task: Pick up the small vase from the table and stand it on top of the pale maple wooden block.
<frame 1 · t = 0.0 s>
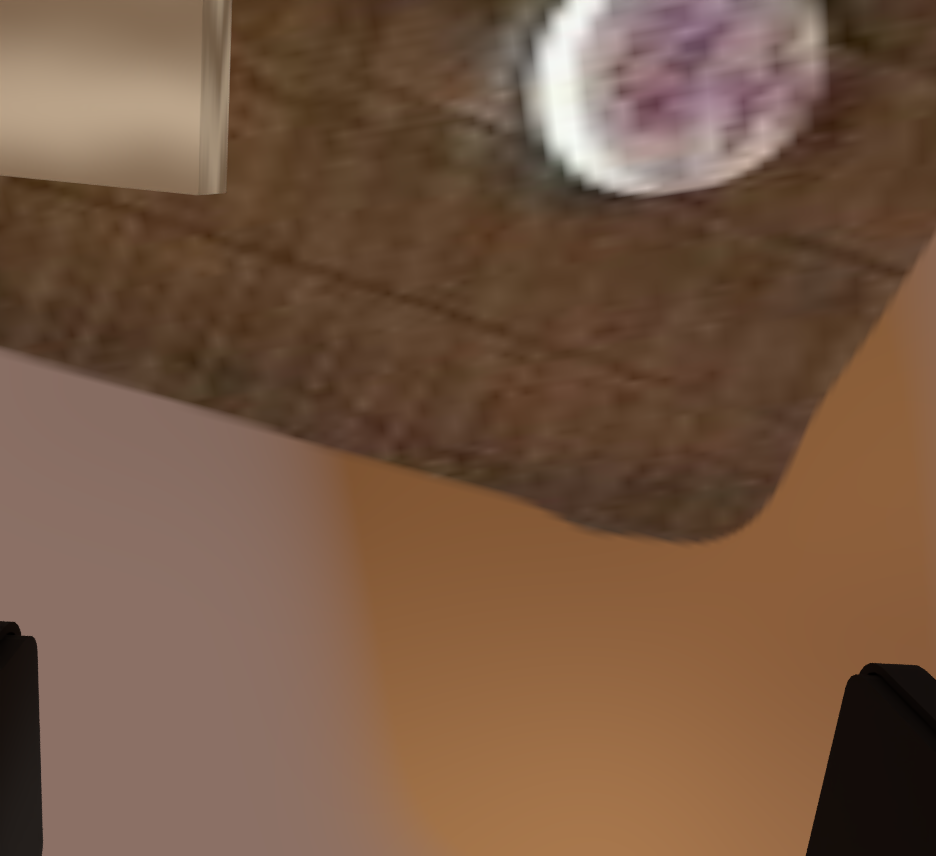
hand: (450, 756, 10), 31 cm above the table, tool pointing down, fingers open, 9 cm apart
maple block: (80, 24, 36), on the table
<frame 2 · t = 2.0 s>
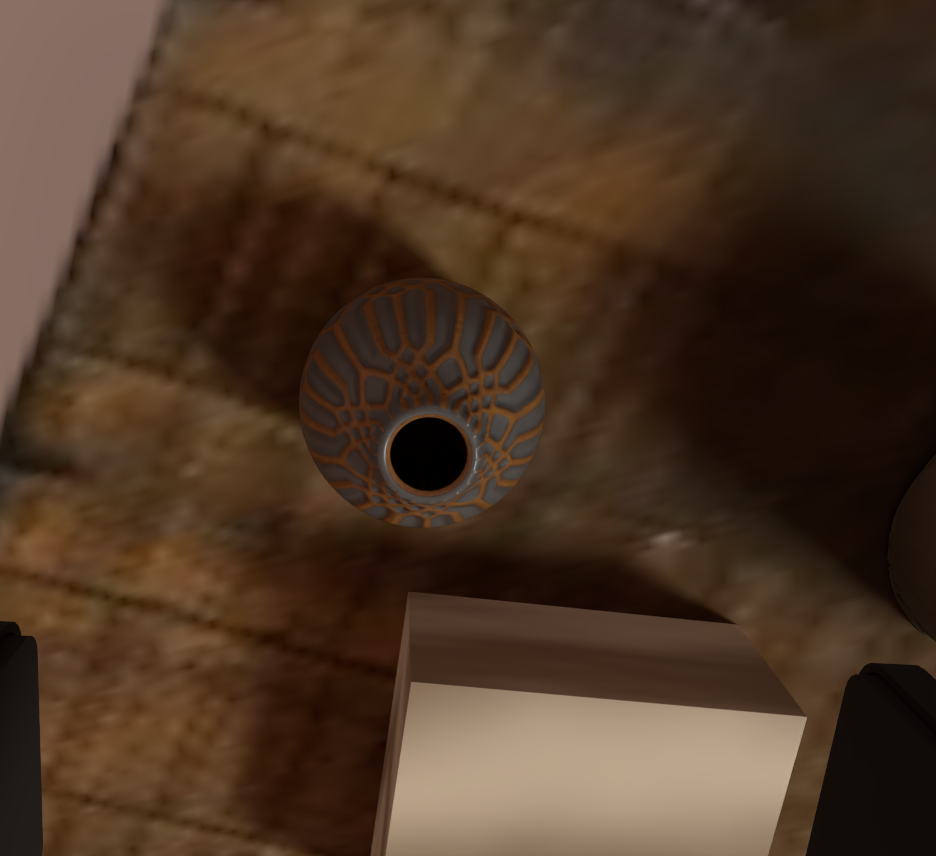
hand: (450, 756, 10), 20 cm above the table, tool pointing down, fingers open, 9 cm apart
vase: (419, 372, 29), on the table
maple block: (546, 749, 34), on the table
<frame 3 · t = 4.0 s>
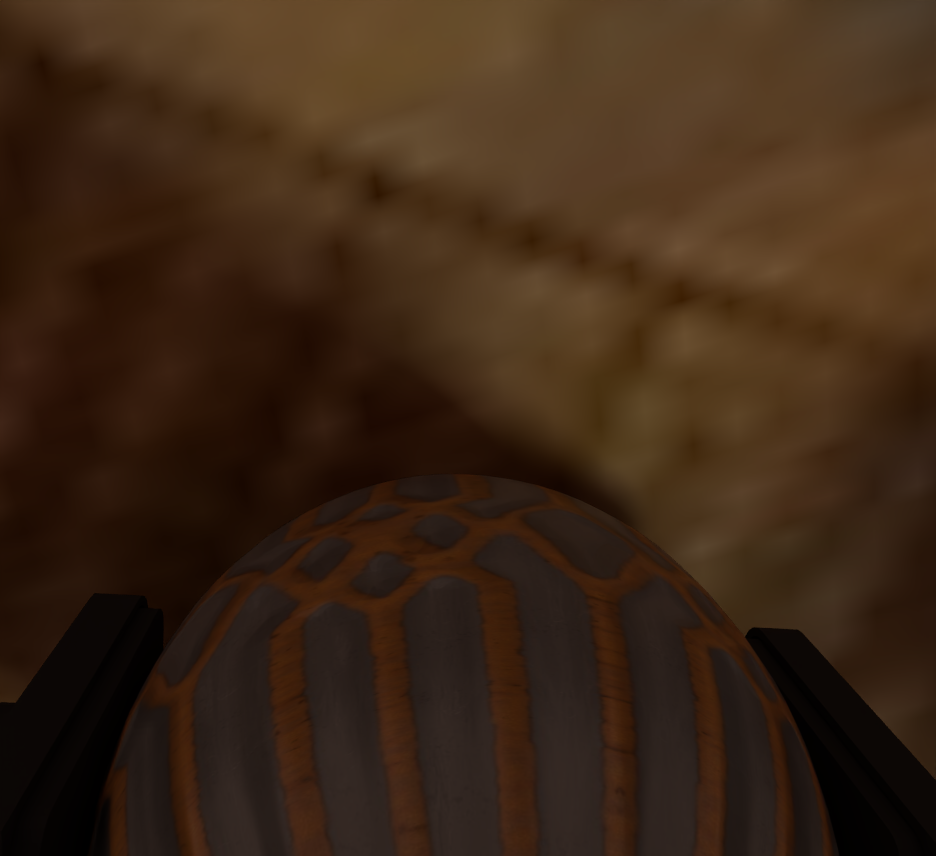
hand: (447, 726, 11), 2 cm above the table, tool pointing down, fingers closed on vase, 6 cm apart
vase: (439, 642, 13), on the table, touching gripper
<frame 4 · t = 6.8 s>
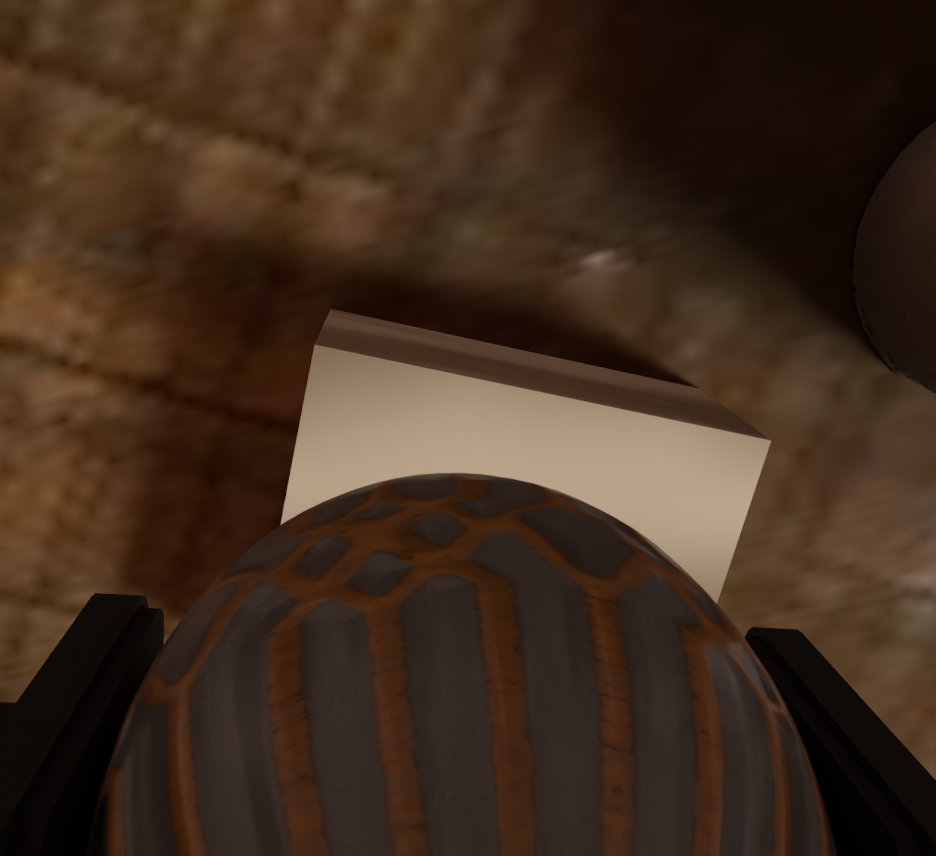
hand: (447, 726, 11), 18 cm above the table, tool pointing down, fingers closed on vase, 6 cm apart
vase: (438, 641, 13), point 16 cm above the table, touching gripper
maple block: (476, 521, 30), on the table
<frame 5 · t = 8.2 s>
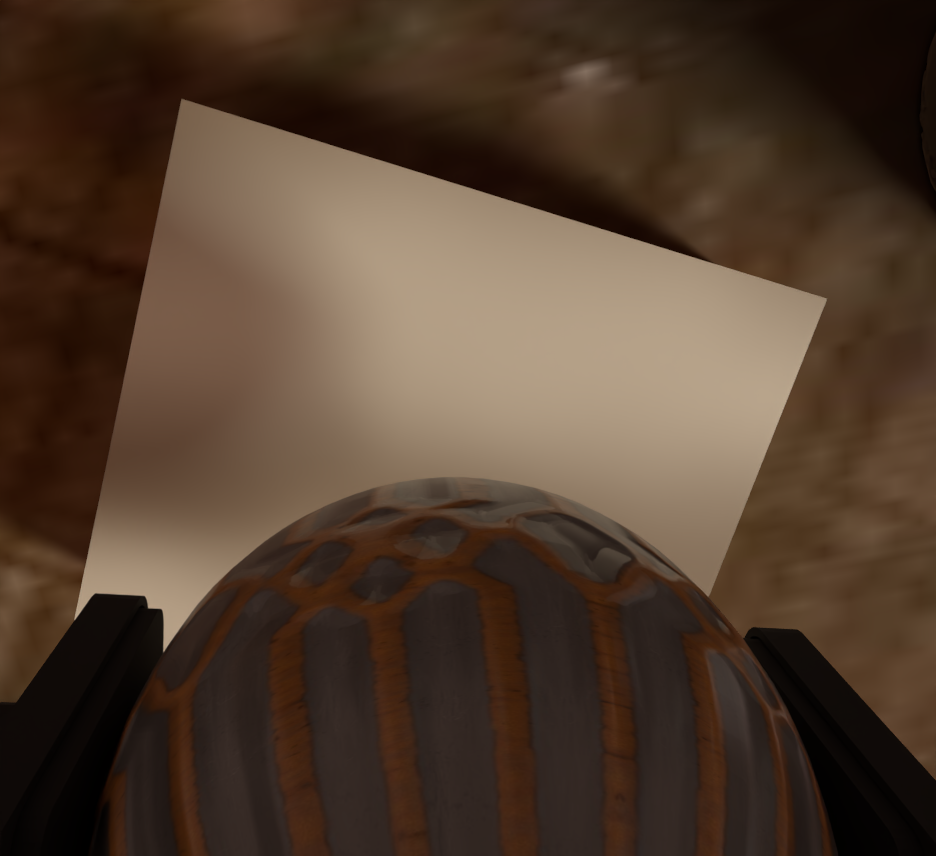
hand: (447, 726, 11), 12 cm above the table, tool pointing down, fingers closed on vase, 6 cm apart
vase: (439, 645, 13), point 10 cm above the table, touching gripper
maple block: (419, 427, 23), on the table
when the fingers open (9 cm above the table, at t = 9.4 s): vase drops 1 cm, resting on maple block.
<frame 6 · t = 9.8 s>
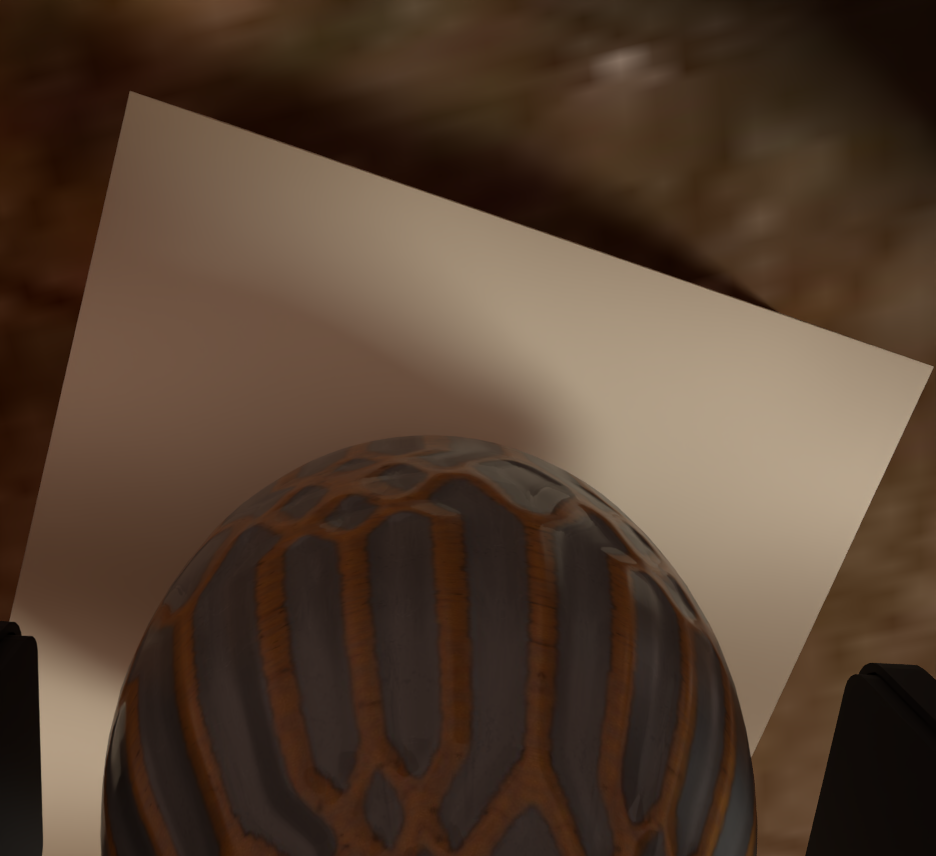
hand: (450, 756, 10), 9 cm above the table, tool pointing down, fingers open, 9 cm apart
vase: (421, 595, 14), point 5 cm above the table, touching maple block
maple block: (419, 486, 20), on the table, touching vase
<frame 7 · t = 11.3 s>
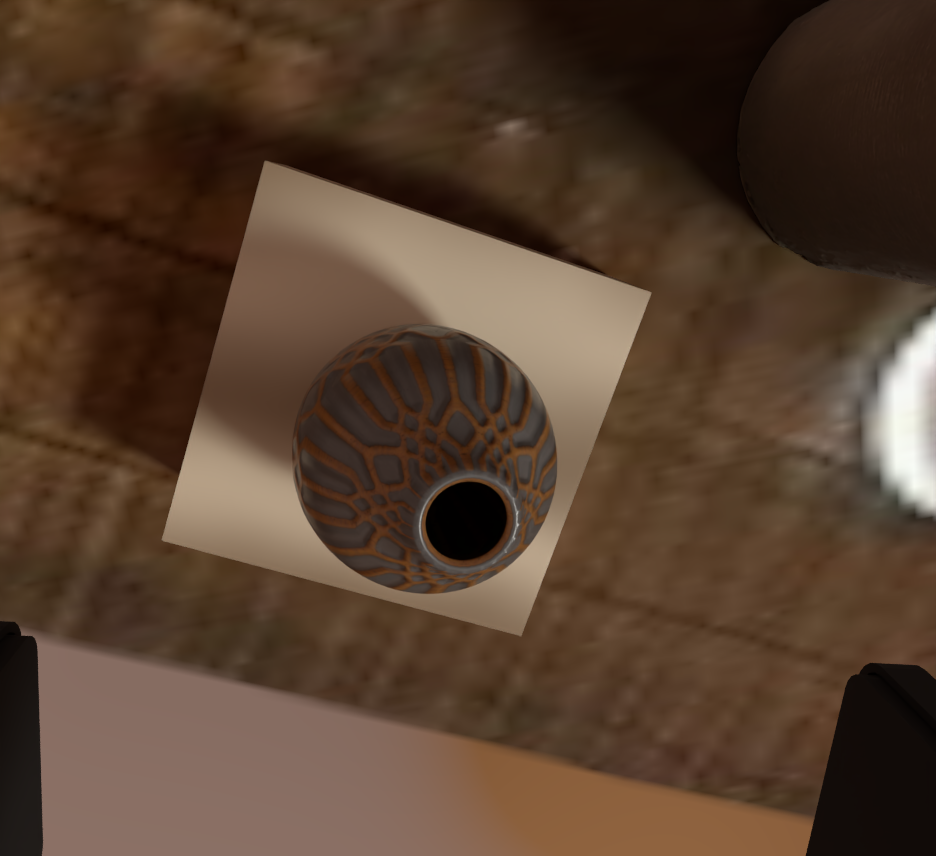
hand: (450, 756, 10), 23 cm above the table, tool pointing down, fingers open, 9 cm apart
vase: (401, 421, 27), point 6 cm above the table
pillar candle: (866, 133, 32), on the table
maple block: (400, 378, 33), on the table
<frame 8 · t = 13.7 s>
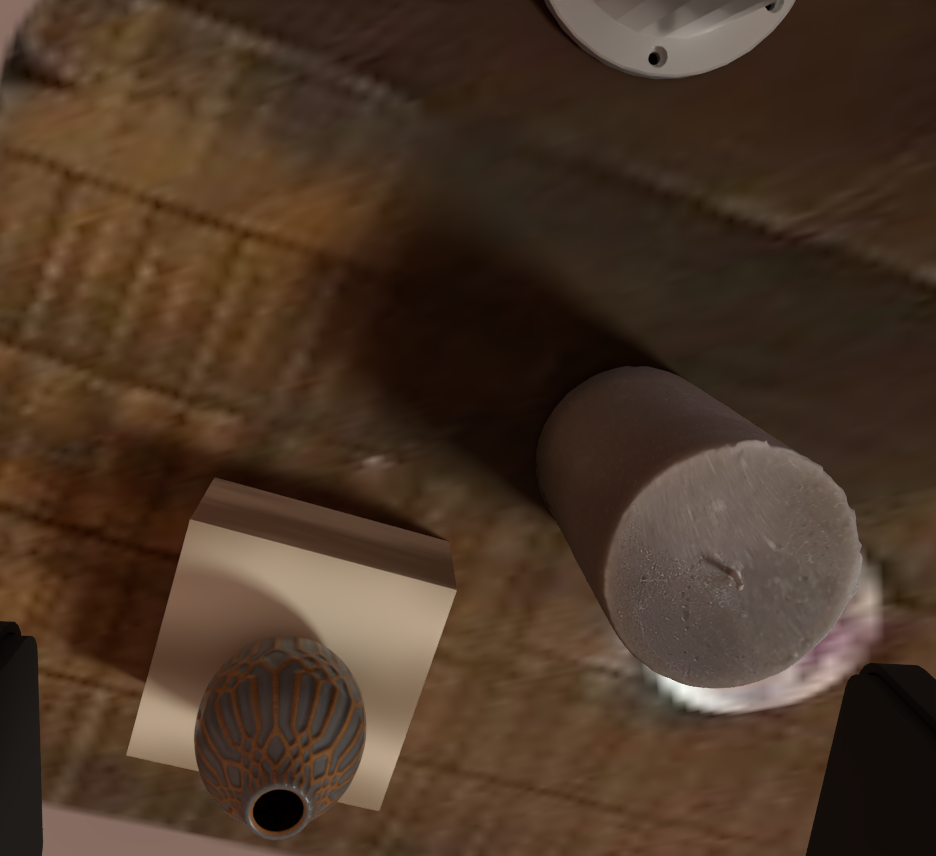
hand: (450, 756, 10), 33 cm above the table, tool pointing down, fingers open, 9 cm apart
vase: (284, 679, 40), point 6 cm above the table, touching maple block
pillar candle: (631, 455, 45), on the table
maple block: (302, 612, 46), on the table, touching vase
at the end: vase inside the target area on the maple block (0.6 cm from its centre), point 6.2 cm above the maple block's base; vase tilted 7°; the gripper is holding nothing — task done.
